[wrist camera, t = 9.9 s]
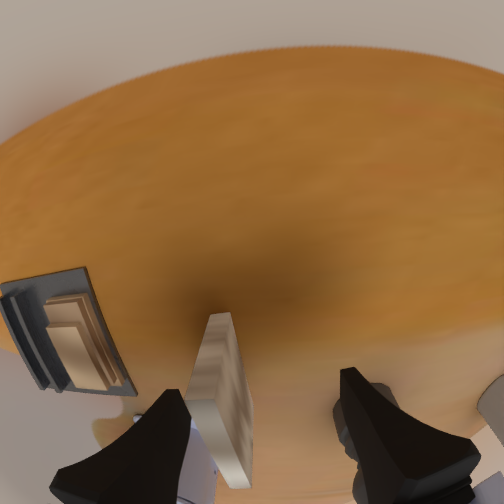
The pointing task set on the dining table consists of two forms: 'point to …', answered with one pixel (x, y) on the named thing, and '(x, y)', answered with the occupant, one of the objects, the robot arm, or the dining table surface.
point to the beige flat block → (223, 402)
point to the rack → (36, 320)
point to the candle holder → (347, 442)
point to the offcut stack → (81, 342)
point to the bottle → (494, 407)
